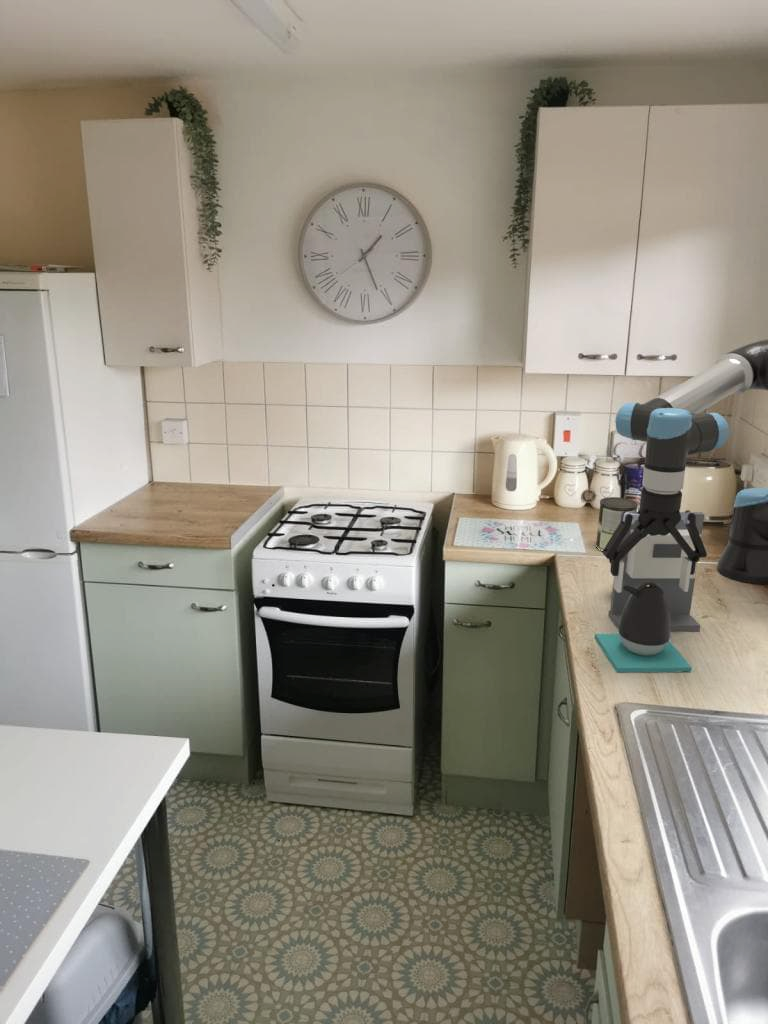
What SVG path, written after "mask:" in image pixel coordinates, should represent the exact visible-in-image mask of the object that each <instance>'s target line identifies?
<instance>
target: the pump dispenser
mask: <svg viewBox="0 0 768 1024" xmlns="http://www.w3.org/2000/svg"><path fill="white" fill-rule="evenodd" d="M623 589H624V590H626V591H627V592H629V593H631V595H630V597H629V598H628V600H627V602H626V604H625V607H624V609H623V612H622V615H621V618H620V622H619V627H618V629H617V632H618V634H620V638H621V641H622V643H623V645H624V646H625V647H626V648H627V649H628V650H629V651H631V652H633V653H635V654H638V655H644V656H649V655H654V654H657V653H659V652H660V651H662V650H663V649H664V647H665V646H666V644H667V642H668V641H670V639H671V634H672V632H671V623H670V613H669V607H668V603H667V600H666V597H665V594H664V592H663V590H662V588H661V587H660V586H659V585H658V584H657V583H655V582H652V581H645V582H642V583H640V584H639V585H638V586H637V587H636V588H633V587H630V586H628V585H624V586H623Z"/></svg>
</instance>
